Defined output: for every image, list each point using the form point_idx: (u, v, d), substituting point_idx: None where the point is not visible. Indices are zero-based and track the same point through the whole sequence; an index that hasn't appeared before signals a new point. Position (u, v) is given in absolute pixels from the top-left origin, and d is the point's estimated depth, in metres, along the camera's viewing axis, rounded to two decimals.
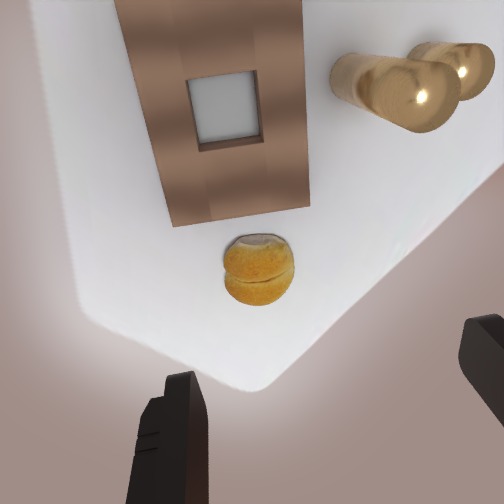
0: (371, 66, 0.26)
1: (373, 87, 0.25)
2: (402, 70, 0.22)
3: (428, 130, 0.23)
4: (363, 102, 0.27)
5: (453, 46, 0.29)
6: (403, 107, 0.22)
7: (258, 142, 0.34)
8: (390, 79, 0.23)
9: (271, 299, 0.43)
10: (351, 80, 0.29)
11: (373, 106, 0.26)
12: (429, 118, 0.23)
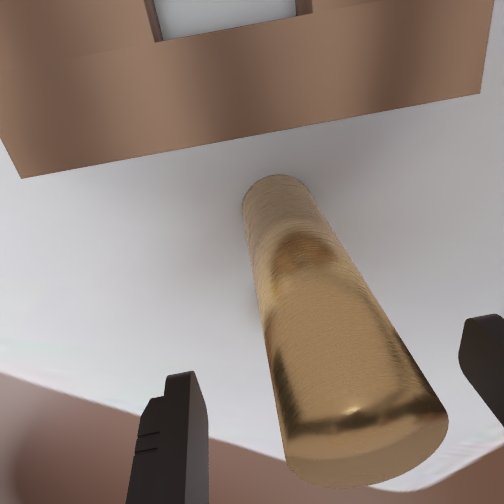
0: (349, 259, 0.13)
1: (336, 283, 0.11)
2: (409, 355, 0.09)
3: (290, 463, 0.09)
4: (285, 260, 0.13)
5: None
6: (355, 405, 0.08)
7: (151, 27, 0.14)
8: (383, 332, 0.10)
9: None
10: (305, 220, 0.15)
11: (296, 293, 0.11)
12: (320, 456, 0.09)
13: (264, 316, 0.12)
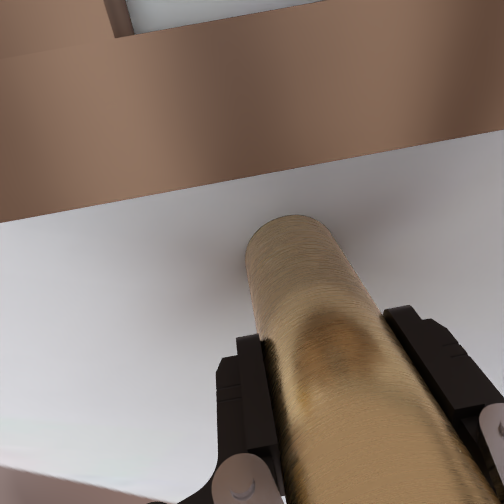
0: (419, 376, 0.09)
1: (422, 459, 0.06)
2: None
3: None
4: (321, 386, 0.08)
5: None
6: None
7: (110, 14, 0.09)
8: None
9: None
10: (342, 301, 0.10)
11: (352, 477, 0.06)
12: None
13: (290, 490, 0.07)
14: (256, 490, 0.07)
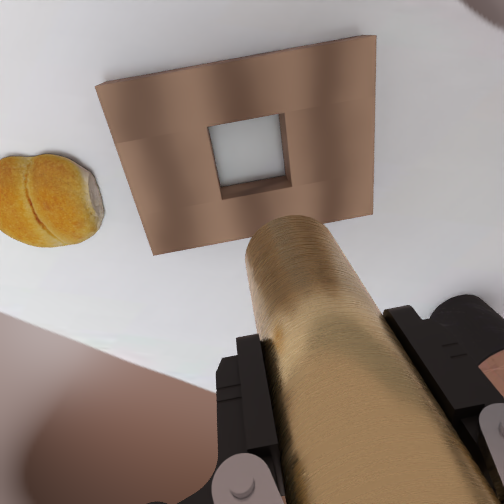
0: (419, 376, 0.09)
1: (422, 460, 0.06)
2: None
3: None
4: (321, 386, 0.08)
5: None
6: None
7: (220, 193, 0.31)
8: None
9: (6, 229, 0.30)
10: (342, 302, 0.10)
11: (352, 477, 0.06)
12: None
13: (290, 490, 0.07)
14: (256, 490, 0.07)
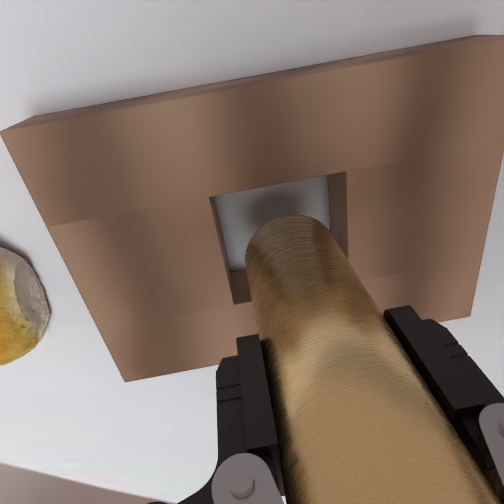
0: (418, 376, 0.09)
1: (422, 459, 0.06)
2: None
3: None
4: (321, 386, 0.08)
5: None
6: None
7: (231, 293, 0.19)
8: None
9: None
10: (342, 301, 0.10)
11: (352, 477, 0.06)
12: None
13: (290, 490, 0.07)
14: (256, 490, 0.07)
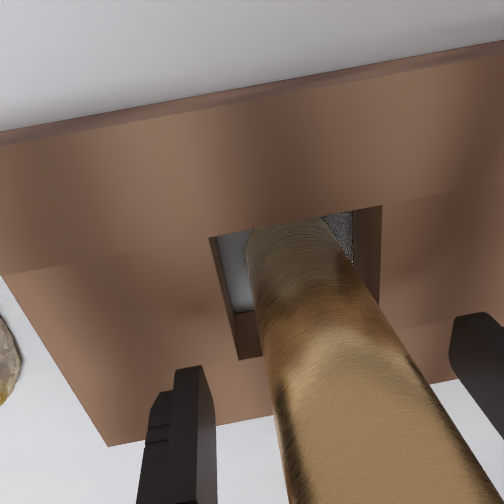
0: (411, 359, 0.09)
1: (411, 432, 0.07)
2: None
3: None
4: (318, 368, 0.08)
5: None
6: None
7: (236, 347, 0.15)
8: None
9: None
10: (339, 290, 0.11)
11: (346, 449, 0.07)
12: None
13: (288, 465, 0.08)
14: None
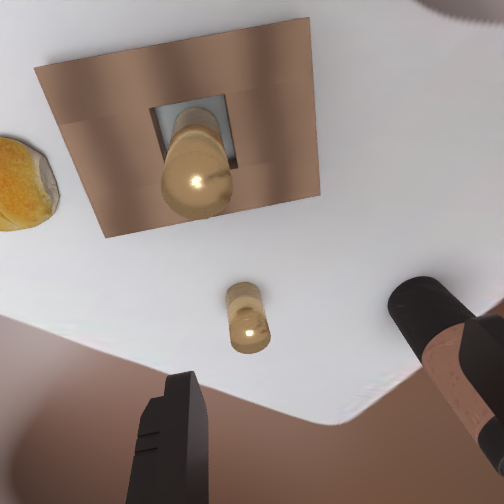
0: (215, 134, 0.25)
1: (197, 134, 0.23)
2: (220, 154, 0.21)
3: (165, 197, 0.20)
4: (179, 133, 0.24)
5: (265, 320, 0.37)
6: (185, 161, 0.20)
7: None
8: (209, 145, 0.21)
9: None
10: (197, 120, 0.26)
11: (178, 139, 0.23)
12: (177, 194, 0.20)
13: None
14: None
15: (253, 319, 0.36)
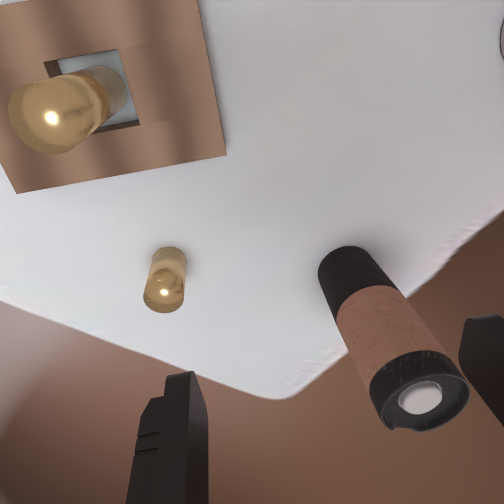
0: (92, 82, 0.26)
1: (62, 76, 0.24)
2: (72, 91, 0.22)
3: (15, 130, 0.21)
4: None
5: (180, 280, 0.38)
6: (29, 93, 0.21)
7: None
8: (63, 82, 0.22)
9: None
10: (82, 71, 0.27)
11: None
12: (27, 127, 0.21)
13: None
14: None
15: (166, 277, 0.37)
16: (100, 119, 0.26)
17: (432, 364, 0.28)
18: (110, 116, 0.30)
